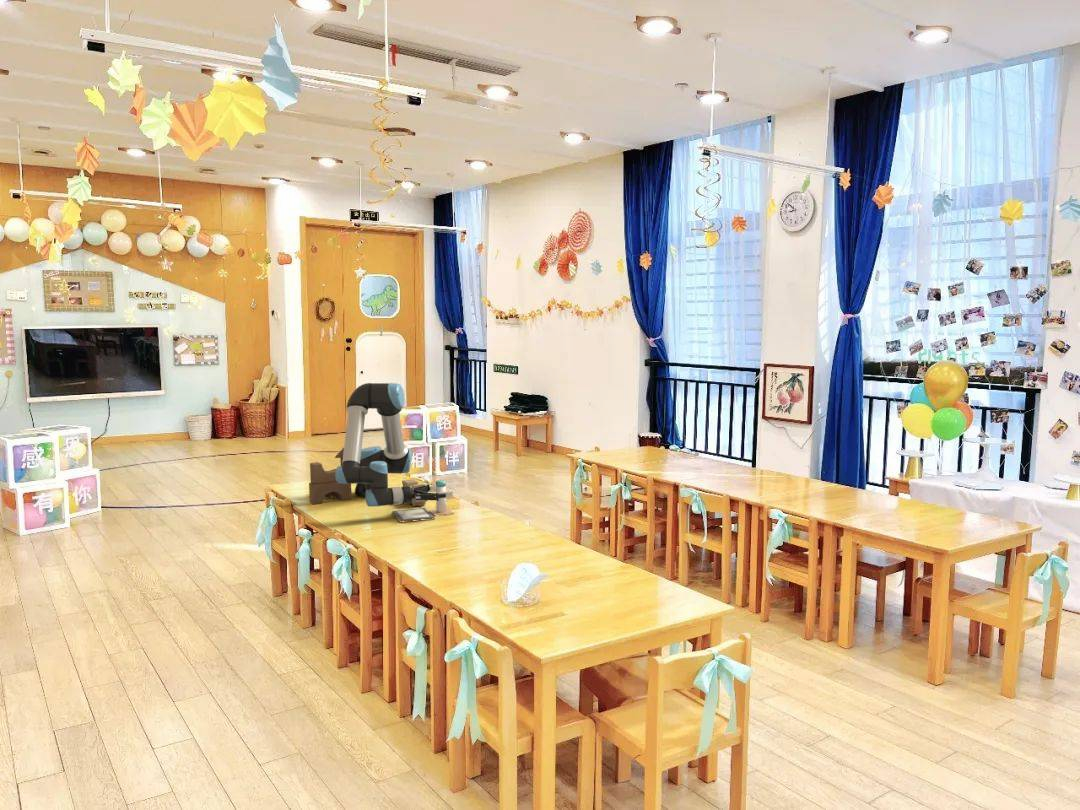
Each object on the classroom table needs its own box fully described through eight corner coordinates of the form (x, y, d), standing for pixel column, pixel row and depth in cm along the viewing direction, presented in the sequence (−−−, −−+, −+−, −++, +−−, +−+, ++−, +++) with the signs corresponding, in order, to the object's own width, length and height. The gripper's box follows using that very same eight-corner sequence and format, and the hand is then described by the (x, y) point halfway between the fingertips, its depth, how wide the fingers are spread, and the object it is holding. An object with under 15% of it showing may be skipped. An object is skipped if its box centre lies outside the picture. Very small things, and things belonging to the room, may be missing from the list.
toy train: (416, 508, 367) (415, 486, 366) (402, 500, 381) (401, 480, 380) (427, 506, 370) (426, 485, 368) (413, 498, 384) (412, 478, 383)
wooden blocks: (347, 490, 402) (345, 435, 398) (362, 498, 386) (360, 441, 382) (299, 496, 388) (297, 440, 385) (312, 505, 372) (310, 446, 368)
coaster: (429, 511, 360) (429, 510, 360) (448, 509, 364) (448, 508, 364) (434, 516, 352) (434, 515, 352) (453, 514, 356) (453, 513, 355)
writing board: (392, 512, 358) (392, 510, 358) (424, 509, 364) (424, 507, 364) (400, 522, 342) (400, 520, 342) (434, 519, 348) (434, 517, 347)
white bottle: (435, 511, 359) (434, 480, 357) (444, 509, 361) (444, 479, 359) (437, 513, 355) (437, 482, 353) (447, 512, 357) (447, 481, 355)
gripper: (395, 497, 362) (440, 493, 370) (408, 510, 339) (456, 505, 347) (395, 481, 361) (440, 477, 369) (407, 493, 338) (455, 488, 346)
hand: (448, 491), depth 358 cm, fingers open, 13 cm apart
